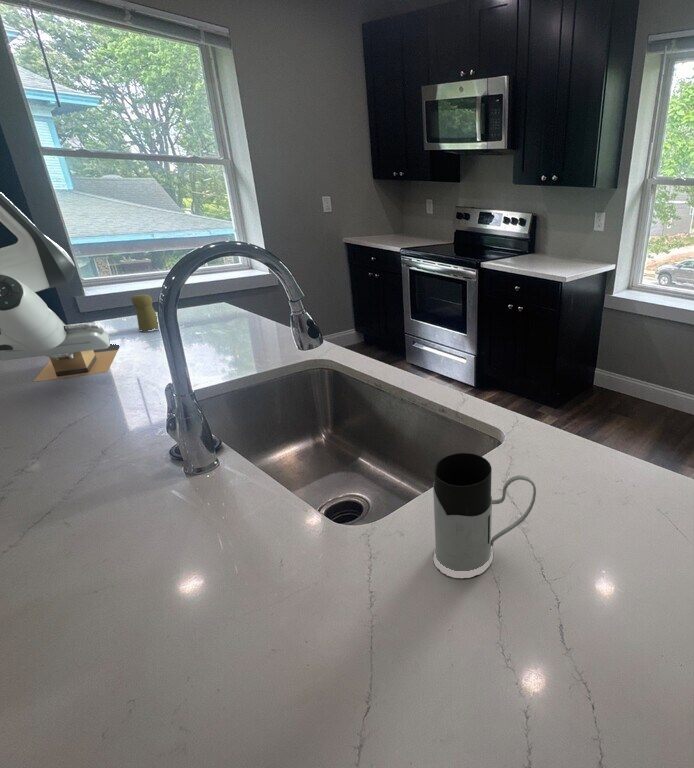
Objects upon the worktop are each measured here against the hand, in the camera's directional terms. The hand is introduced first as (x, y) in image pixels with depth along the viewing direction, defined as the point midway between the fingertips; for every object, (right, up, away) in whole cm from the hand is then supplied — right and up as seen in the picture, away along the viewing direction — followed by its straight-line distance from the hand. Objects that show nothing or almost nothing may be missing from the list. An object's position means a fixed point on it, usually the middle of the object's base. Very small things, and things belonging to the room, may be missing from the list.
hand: (65, 356), depth 113 cm
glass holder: (+104, -32, -46) cm, 118 cm away
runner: (-7, +1, +13) cm, 15 cm away
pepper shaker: (-6, +11, +35) cm, 37 cm away
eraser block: (-3, -2, +6) cm, 8 cm away
